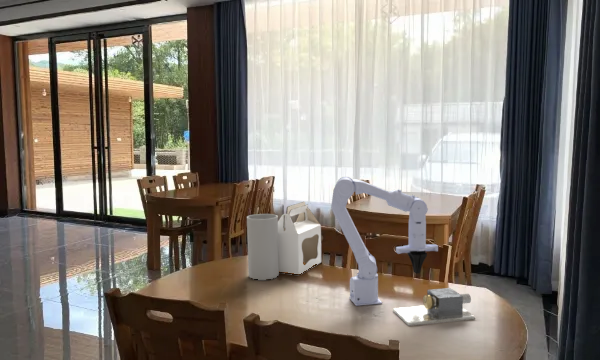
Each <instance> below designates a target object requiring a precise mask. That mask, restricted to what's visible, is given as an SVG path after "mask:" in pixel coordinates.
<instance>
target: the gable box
mask: <svg viewBox="0 0 600 360" xmlns="http://www.w3.org/2000/svg"><path fill="white" fill-rule="evenodd" d="M308 206H309V204H306V202H305V201H302V202H298V203H295V204H292V205H291V204H290V205H288V206H287V207H286V212H285V213H283V214H282V215H281V216H280V218H278V254H279V271H280V272H288V273H294V274H301V273H302V274H304V273H305V272H304V271H306V270H307V271H309V270H310V269H309V268H311V267H312V266H313V265H315V264H317V265H319V264H321V263H322V225H321V223H320V222H319V220H318V219H317V217H316V216H315V215H314V213H313V212H312V210H311V209H310V208H308ZM296 215H298V217H297V218H296V221H295V222H293V219H292V217H294V216H296ZM303 262H305V263H306V264H305V265H304V264H303ZM312 268H313V267H312ZM312 268H311V269H312ZM308 269H309V270H308ZM307 271H306V272H307ZM303 272H304V273H303ZM302 274H301V275H302Z"/></svg>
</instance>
